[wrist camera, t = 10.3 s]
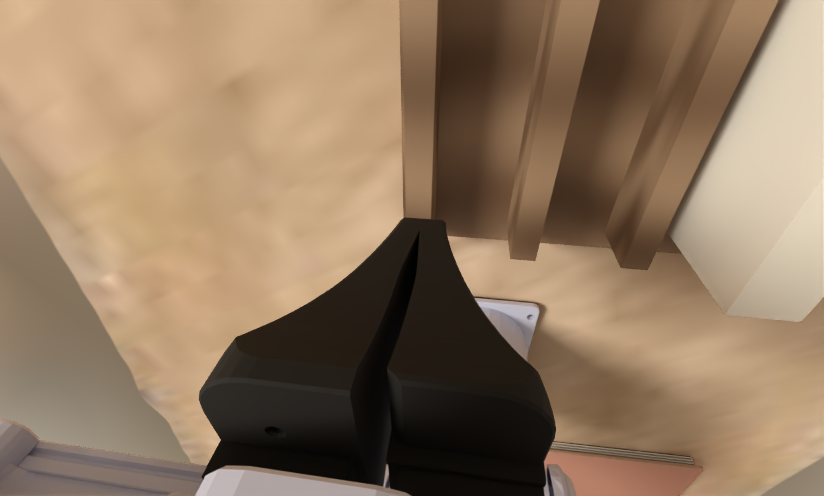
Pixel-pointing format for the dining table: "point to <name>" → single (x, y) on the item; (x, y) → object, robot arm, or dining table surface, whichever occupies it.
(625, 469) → the notebook
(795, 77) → the block
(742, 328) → the dining table surface
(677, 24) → the rack
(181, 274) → the dining table surface
